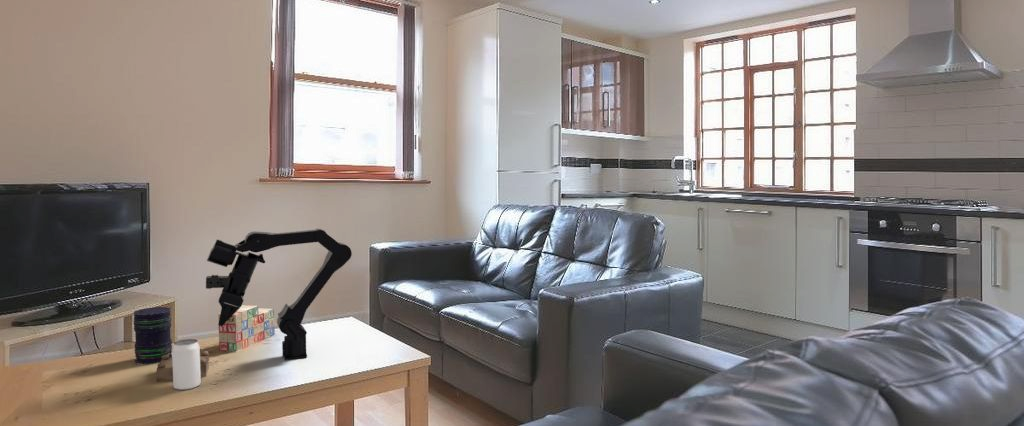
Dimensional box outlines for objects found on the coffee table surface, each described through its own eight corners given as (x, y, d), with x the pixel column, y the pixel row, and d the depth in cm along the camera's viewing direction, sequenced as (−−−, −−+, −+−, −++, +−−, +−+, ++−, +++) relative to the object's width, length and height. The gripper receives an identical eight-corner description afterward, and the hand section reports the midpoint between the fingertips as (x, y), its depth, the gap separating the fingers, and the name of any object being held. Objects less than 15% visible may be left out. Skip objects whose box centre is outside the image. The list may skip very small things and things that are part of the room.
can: (179, 382, 169) (178, 338, 168) (204, 381, 169) (203, 338, 168) (168, 390, 162) (167, 345, 161) (194, 390, 163) (193, 344, 162)
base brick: (209, 365, 183) (208, 350, 183) (206, 376, 174) (205, 360, 173) (162, 370, 178) (162, 355, 178) (157, 381, 169) (156, 365, 169)
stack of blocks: (258, 334, 219) (258, 299, 218) (275, 335, 218) (274, 300, 217) (218, 351, 198) (217, 312, 197) (236, 352, 197) (235, 313, 196)
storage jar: (175, 353, 195) (173, 306, 194) (169, 362, 186) (167, 313, 185) (139, 356, 192) (137, 308, 191) (131, 365, 183) (129, 315, 182)
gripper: (216, 259, 190) (195, 308, 188) (211, 266, 173) (188, 320, 171) (253, 272, 194) (233, 319, 192) (252, 279, 177) (230, 332, 175)
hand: (221, 322), depth 183 cm, fingers open, 9 cm apart
